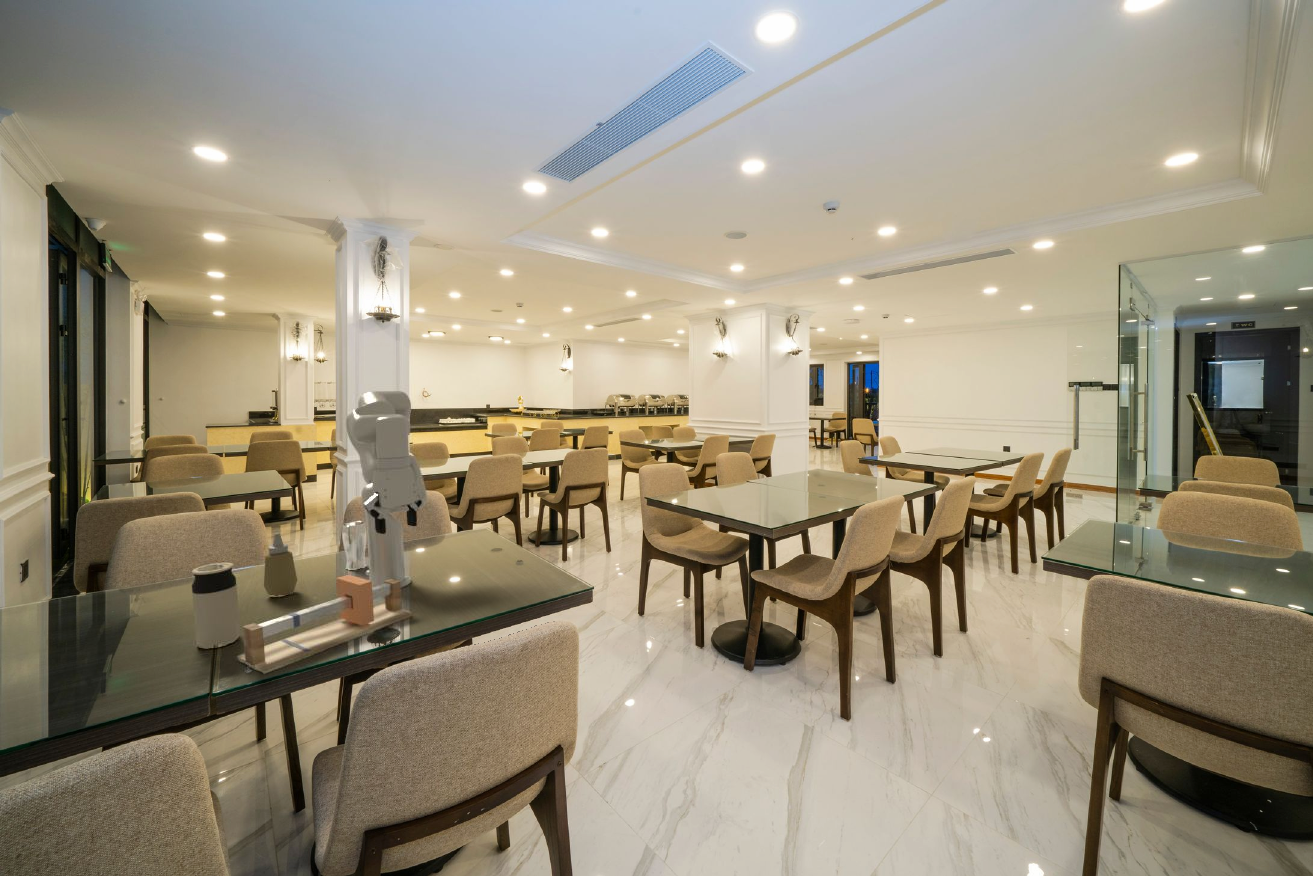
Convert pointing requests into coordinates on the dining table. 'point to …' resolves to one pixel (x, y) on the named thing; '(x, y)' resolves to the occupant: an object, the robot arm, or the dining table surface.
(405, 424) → the robot arm
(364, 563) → the beer glass
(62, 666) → the dining table surface
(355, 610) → the collar
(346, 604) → the pipe stand
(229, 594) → the travel mug
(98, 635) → the dining table surface
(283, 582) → the squeeze bottle
